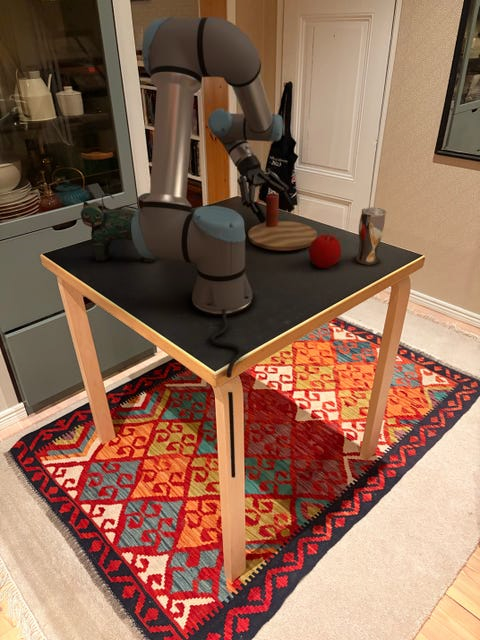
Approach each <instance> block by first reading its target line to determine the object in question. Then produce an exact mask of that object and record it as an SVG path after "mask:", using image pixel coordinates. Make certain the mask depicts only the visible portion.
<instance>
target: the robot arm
mask: <svg viewBox="0 0 480 640" xmlns="http://www.w3.org/2000/svg"><path fill="white" fill-rule="evenodd" d="M257 49H258V48H257V47H256V46H255V43H253V41H252V40H251V38H250V37H249V36H248V35H247V34H246V33H245V32H244V31H243V30H242V29H241V28H240V27H238V26H237V25H236V24H235V23H233V22H232V21H229V20H227V19H225V18H223V17H218V16H208V17H207V16H206V17H172V16H167V17H165V18H157V19H154V20H152V21H151V22H150V23H149V24H148V25H147V27H146V29H145V31H144V33H143V38H142V44H141V56H142V58H143V60H142V63H143V67H144V69H145V72H146V73H147V74H148V75H149V76H150V81H151V83H152V84H153V86H154V87H155V88H156V94H155V95H156V96H155V108H154V109H155V110H154V125H153V126H154V128H153V140H152V157H151V172H150V185H149V193H150V194H149V196H148V197H147V198H146V199H144V200H143V207H142V209H139V208H138V209H139V210H136V212H135V213H134V217H133V218H132V222H131V233H132V239H133V241H132V242H133V245H134V247H135V250H136V251H137V252H138V254H139V255H140V256H141V257H142V258H143V257H145V258H150V259H154V261H164V262H165V261H168V262H178V263H187V264H195V265H196V269H197V270H196V271H197V273H196V274H197V276H196V279H195V281H194V282H195V283H194V286H193V290H192V294H191V303H192V307H193V308H194V310H196V311H197V312H199V313H201V314H203V315H205V316H209V317H210V316H211V317H218V318H219V317H221V318H222V323H223V327H222V329H220V330H219V331H217V332H215V333H213V334H211V335H210V342H211V343H212V344H213V345H215V346H219V347H224V348H230V349H234V350H236V351H237V354H236V355H235V356H234V357H233V358H232V359H231V360H230V362H229V363H228V366H227V369H226V377H227V378H228V379H229V378H231V377H232V371H233V367H234V366H235V364H236V363H237V362H238V360H239V359H241V358H242V356H243V350H242V348H241V347H240V346H239V345H237V344H235V343H230V342H223V341H220V340H219V341H218V340H216V338H217V337H219V336H221V335H223V334H224V333H226V331H227V330H228V327H229V325H228V320H227V317H230V316H231V317H233V316H236V315H240V314H241V313H243V312H245V311H247V310H248V309H250V308H251V306H252V304H253V300H254V299H253V295H254V294H253V290H252V288H251V284H250V282H249V280H248V277H247V273H246V237H247V236H246V232H245V231H246V230H245V221H244V218H243V217H242V215H241V214H239V213H238V211H235V210H234V209H231V208H228V207H225V206H219V205H210V206H208V205H205V206H199V207H197V208H196V209H194V211H193V213H192V210H193V209H192V208H193V206H192V204H191V203H190V202H189V201H188V199H187V192H188V179H189V168H190V167H189V165H190V163H189V162H190V154H191V141H192V137H191V136H192V128H193V127H192V126H193V116H194V115H193V113H194V112H193V111H194V101H195V95H196V93H198V92H199V91H200V90H201V89H202V84H203V83H202V81H203V78H222V79H223V80H224V81H225V83H226V84H228V85H229V86H230V87H231V88H232V90H233V92H234V95H235V97H236V99H237V102H238V104H239V106H240V108H241V111H242V113H230V112H229V111H228V110H226V109H224V108H217V109H215V110H213V111H212V112H211V113H210V114H209V116H208V118H207V125H208V128H209V130H210V132H211V133H212V135H213V136H214V137H215V138H216V139H217V140H218V142H220V143H221V145H222V147H223V148H224V149H225V151H226V153H227V155H228V156H229V158H230V159H231V161H232V163H233V165H234V167H235V168H236V170H237V171H238V173H239V175H240V176H239V177H238V178H237V180H236V181H237V183H238V185H239V191H240V198H241V204H242V206H244V207H246V208H248V209H249V208H250V210H251V211H252V213H253V214H254V215H255V216H256V217H257V220H258V221H259V222H260V223H259V224H262V223H265V222H266V219H267V218H266V213H264V211H263V209H262V207H261V206H260V204H259V203H258V201H255V198H256V188H258V187H261V186H262V187H266V188H268V189H270V190H271V191H273V192H274V193H275V194H278V195H279V199H280V201H281V203H282V204H283V206H284V208H285V209H286V211H287V213H288V214H290V213H292V212H293V211H294V210H295V209H296V208H295V206H294V205H293V203H292V201H291V197H290V196H289V194H288V193H287V191H288V190H289V189H290V187H289V186H288V185H287V184H286V183H285V182H284V181H282V180H281V178H279V177H278V176H277V175H276V174H275V173H273V171H272V170H271V168H270V167H267V168H266V169H264V170H263V169H262V163H261V162H260V160H259V158H258V157H257V155H255V152H254V150H253V148H252V147H251V145H250V143H249V142H248V141H251V142H252V141H253V142H254V141H255V142H268V143H269V142H279V141H280V140H281V138H282V135H283V127H284V126H283V125H284V121H283V117H282V115H280V114H276V113H272V110H271V106H270V103H269V100H268V95H267V93H266V89H265V86H264V83H263V80H262V79H263V78H262V76H261V71H262V60H261V57H260V54H259V52H258V50H257ZM227 395H228V396H227V398H228V417H229V418H228V419H229V421H228V422H229V445H230V447H229V448H230V475H231V478H236V453H235V450H236V449H235V423H234V422H235V420H234V419H235V418H234V417H235V416H234V395H233V391H227Z"/></svg>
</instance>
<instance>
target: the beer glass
mask: <svg viewBox="0 0 480 640" xmlns="http://www.w3.org/2000/svg"><path fill="white" fill-rule="evenodd" d="M360 212H361V213H360V216H359V223H358V251H357V255H356V257H355V261H356V262H357V263H359V264H361V265H365V266H372V265H376V264H377V263H378V251H379V247H380V243H381V240H382V238H383V236H384V235H383V234H384V231H385V225H386V213H387V211H386V210H385V209H383V208H379V207H372V206H371V207H365V208H364V207H363V208H362V209H361V211H360Z"/></svg>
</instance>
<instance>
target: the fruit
mask: <svg viewBox="0 0 480 640" xmlns="http://www.w3.org/2000/svg"><path fill="white" fill-rule="evenodd" d="M331 233H332V232H330V231H329V232H328V234H321V235H319V236H317V238H316V239H315V240H314V241H313V242H312V243H311V245H310V246H309V248H308V255H309V259H310V261H311V263H312V264H313V265H314V266H316V267H318V268H321V269H326V268H329V267H333V266H335V265H336V264H337V263H338V262H339V259H340V258H341V254H342V246H341V243H340V242H339V240H338V238H336V237H335V236H333V235H331Z"/></svg>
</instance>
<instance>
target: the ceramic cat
mask: <svg viewBox="0 0 480 640" xmlns="http://www.w3.org/2000/svg"><path fill="white" fill-rule="evenodd" d="M105 196H109V197H110V198H112V199H113V200H114V199H115V197H114V196H113V195H112V194H110V193H104V194H102V196H101V202H97V201H94V202H91V203H89V202H87V201H83V203H82V210H81V211H80V217H81V221H82V223H83V224H84V225H85V226H87V227H89V228H91V233H90V236H91V241H92V249H93V253H94V258H95V261H96V262H97V261H98V262H105V261H107V260H108V259H109V258H110V257H111V253H110V245H111V242H112V241H116V240H129V241H132V242H133V239H132V233H131V222H132V218H133V217H134V213H135V212H136V211H137V210H139V207H138V208H137V207H135V206H130V205H123V206H120V207H116V208H109V207H107V206H106V205H105V202H104V200H103V199H104V197H105ZM142 259H143V262H144V263H153V262H154V261H155V259H150V258H145V257H143V256H142Z"/></svg>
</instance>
